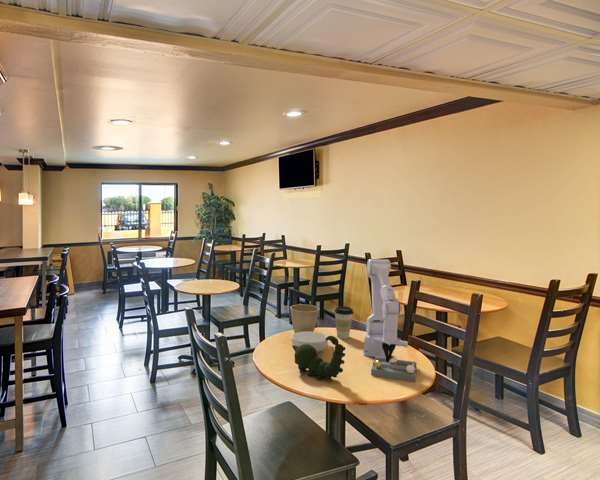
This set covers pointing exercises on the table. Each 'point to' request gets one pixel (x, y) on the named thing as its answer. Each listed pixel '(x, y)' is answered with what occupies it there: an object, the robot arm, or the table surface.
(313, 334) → the cereal bowl
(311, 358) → the toy figurine
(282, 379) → the table surface
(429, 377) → the table surface
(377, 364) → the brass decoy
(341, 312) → the coffee cup
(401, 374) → the grey divided tray
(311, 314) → the plant pot
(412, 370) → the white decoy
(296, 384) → the table surface
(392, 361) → the steel ball
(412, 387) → the table surface
